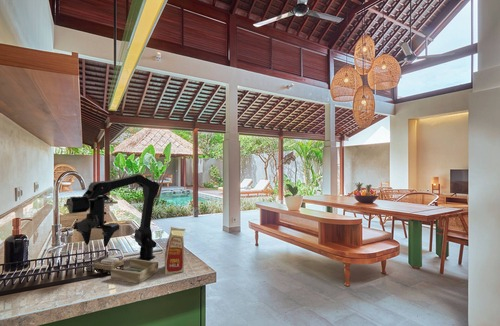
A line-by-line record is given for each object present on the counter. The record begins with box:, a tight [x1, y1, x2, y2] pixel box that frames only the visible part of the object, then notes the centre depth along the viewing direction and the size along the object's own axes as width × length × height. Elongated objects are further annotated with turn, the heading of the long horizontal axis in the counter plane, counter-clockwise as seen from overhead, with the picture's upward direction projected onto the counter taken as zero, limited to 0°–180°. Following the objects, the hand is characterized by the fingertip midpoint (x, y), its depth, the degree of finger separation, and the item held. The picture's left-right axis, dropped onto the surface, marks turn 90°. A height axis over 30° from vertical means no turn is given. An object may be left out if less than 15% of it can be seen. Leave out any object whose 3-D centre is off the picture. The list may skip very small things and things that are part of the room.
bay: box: [110, 258, 159, 284], centre depth 115 cm, size 13×14×4 cm
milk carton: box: [164, 226, 186, 275], centre depth 123 cm, size 9×9×20 cm
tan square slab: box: [91, 255, 125, 274], centre depth 118 cm, size 8×10×5 cm
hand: (96, 245), depth 116 cm, fingers open, 9 cm apart
